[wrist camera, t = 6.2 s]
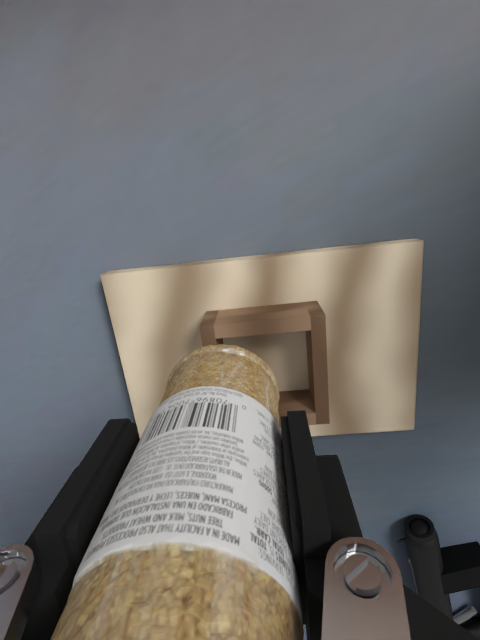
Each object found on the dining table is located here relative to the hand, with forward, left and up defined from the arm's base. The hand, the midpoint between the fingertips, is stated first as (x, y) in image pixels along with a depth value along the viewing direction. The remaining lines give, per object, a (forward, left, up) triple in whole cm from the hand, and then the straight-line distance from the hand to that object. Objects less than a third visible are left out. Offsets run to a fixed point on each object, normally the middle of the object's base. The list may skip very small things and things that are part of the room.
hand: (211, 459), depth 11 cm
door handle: (-22, +33, -20) cm, 44 cm away
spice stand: (-2, +5, -19) cm, 20 cm away
